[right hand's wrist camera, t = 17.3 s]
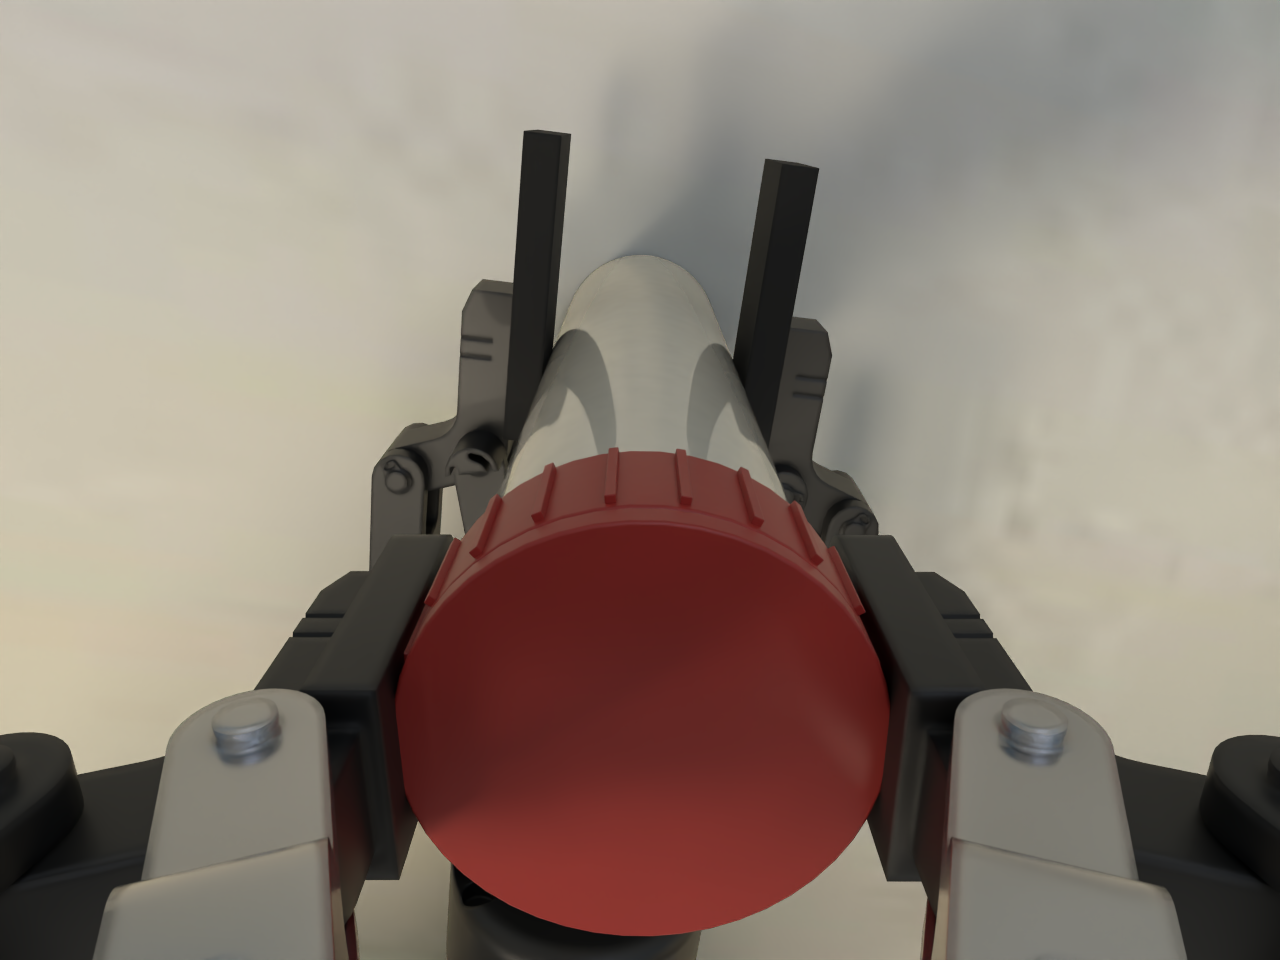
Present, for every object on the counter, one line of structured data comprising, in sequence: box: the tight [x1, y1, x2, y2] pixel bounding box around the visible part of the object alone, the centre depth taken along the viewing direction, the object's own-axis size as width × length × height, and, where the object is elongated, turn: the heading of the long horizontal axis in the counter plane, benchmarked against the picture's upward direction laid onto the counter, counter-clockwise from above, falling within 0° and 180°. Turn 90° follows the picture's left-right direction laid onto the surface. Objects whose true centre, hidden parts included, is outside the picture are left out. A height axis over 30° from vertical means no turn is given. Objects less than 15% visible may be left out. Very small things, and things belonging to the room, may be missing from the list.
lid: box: [395, 447, 890, 936], centre depth 10 cm, size 5×5×2 cm
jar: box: [497, 255, 790, 504], centre depth 19 cm, size 4×4×19 cm
